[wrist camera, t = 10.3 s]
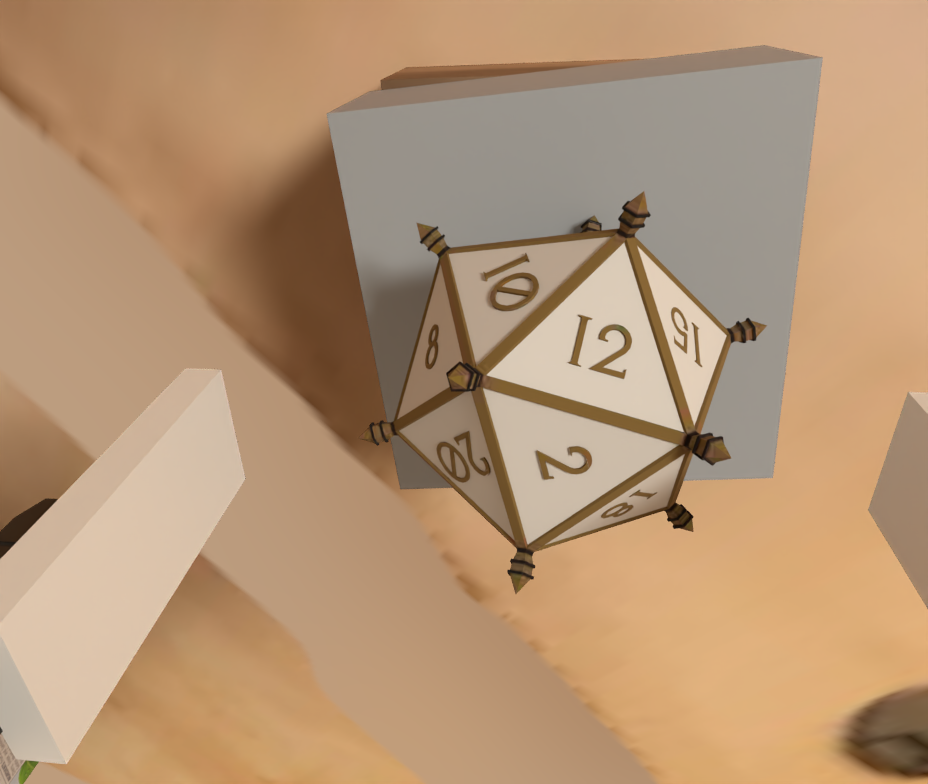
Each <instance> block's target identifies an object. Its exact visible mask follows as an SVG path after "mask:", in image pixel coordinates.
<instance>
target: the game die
mask: <svg viewBox="0 0 928 784" xmlns="http://www.w3.org/2000/svg"><path fill="white" fill-rule="evenodd" d="M622 209H623V210H624V211H623V213H622V214H621V215H620V216H619V218H618V220H619V221H620V227H619V229H610V230H602V223H599V221H598V220H597V218H596V217H595V215H594V216H593V217H592V218H591V219H590V220H589V219H588V220H587V221H586V222H585V223H584V224H582V225H581V228H582V232H580V233H575V234H566V235H557V236H548V237H540V238H531V239H522V240H513V241H504V242H496V243H487V244H478V245H469V246H460V247H452V248H450V247H449V246H447V244H446V242H445V240H444V237H445V235H444V234H443V235H441V234H440V232H439V231H438V230H437V229H438V226H437V227H431V226H427V225H424V224H420V223H417V227H418V231H419V235H420V239H421V241H420V243H421V244H424V245H425V246H426V247H427V248H428V249H427V250H428V251H432V252H434V253H435V254H437V256H438V258H439V260H438V263H437V267H436V271H435V274H434V278H433V281H432V285H431V289H430V292H429V296H428V299H427V303H426V306H425V310H424V314H423V317H422V321H421V324H420V328H419V332H418V335H417V339H416V342H415V346H414V350H413V353H412V357H411V360H410V364H409V367H408V371H407V375H406V378H405V382H404V385H403V389H402V393H401V396H400V400H399V403H398V407H397V411H396V414H395V418H394V421H393V422H384V421H383V420H382V421H380V423H377V424H374V422H373V423H371V424H370V427H369V428H368V429H367V430H366V431H365V432H364V433H363V434H362V435H361V436H360V437H359V438H360V439H363V440H367V441H370V442H373V443H375V444H376V445H379V443H380V442H383V441H385V442H388V439H390V438H391V437H393V436H399V437H400V438H401V439H402V440H403V441H404V442H405V443H406V444H407V445H408V446H410V447H411V448H412V449H413V450H414V451H415V452H416V453H417V454H418V455H419V456H420V457H421V458H422V459H423V460H424V461H425V462H426V463H427V464H428V465H430V466H431V467H432V468H433V469H434V470H435V471H436V472H437V473H438V474H439V475H440V476H441V477H442V478H443V479H444V480H445V481H446V482H447V483H448V484H449V485H451V486H452V487H453V488H454V489H455V490H456V491H457V492H458V493H459V494H460V495H461V496H462V497H463V498H464V499H465V500H466V501H467V502H468V503H469V504H471V505H472V506H473V507H474V508H475V509H476V510H477V511H478V512H479V513H480V514H481V515H482V516H483V517H484V518H485V519H486V520H487V521H488V522H489V523H491V524H492V525H493V526H494V527H495V528H496V529H497V530H498V531H499V532H500V533H501V534H502V535H503V536H504V537H505V538H506V539H507V540H508V541H509V542H510V543H512V544H513V545H514V546H515V547H516V548H517V553H516V555H515V557H514V559H511V561H510V562H511V564H512V565H511V569H510V570H508V574H509V575H510V576H511V579H512V583H513V586H514V590H515V593H517V592H518V591H519V590H520V589H521V588H522V587H523V586H524V585H525V584H526V583H527V582H528V581H529V580H530V579H534V577H533V576H531V575H532V569H533V568H535V565H533V561H532V555H533V553H534V552H535V551H539V550H542V549H545V548H548V547H551V546H554V545H557V544H560V543H564V542H567V541H570V540H573V539H576V538H579V537H582V536H586V535H589V534H592V533H595V532H598V531H601V530H604V529H608V528H611V527H614V526H617V525H620V524H623V523H626V522H630V521H633V520H636V519H639V518H642V517H645V516H648V515H652V514H655V513H658V512H661V511H665V512H666V513H667V516H668V519H667V520H668V522H669V521H671V522H672V523H673V528H674V529H676V528H681V529H684V530H688V531H692V532H693V523H692V518H693V516H692V515H691V514H690V512H689V511H687V510H686V509H685V508H684V506H683V505H682V504H681V505H678V504H677V503H676V499H677V496H678V494H679V491H680V488H681V486H682V483H683V480H684V478H685V475H686V472H687V470H688V467H689V464H690V461H691V459H692V456H693V454H694V455H695V456H697V457H698V458H699V459H701V460H705V461H706V462H708V463H709V464H710V465H712V466H713V465H714V464H715V463H716V462H720V461H724V460H727V459H731V456H730V454H729V452H728V450H727V449H726V447H725V445H724V440H723V437H722V436H719V437H714V436H713V433H706V434H701V431H702V428H703V425H704V422H705V419H706V416H707V413H708V410H709V407H710V404H711V401H712V398H713V395H714V392H715V389H716V387H717V384H718V381H719V378H720V375H721V372H722V369H723V366H724V363H725V360H726V357H727V354H728V351H729V348H730V345H731V343H733V342H740V343H746V341H748V340H751V341H756V338H757V336H758V335H759V334H760V333H761V332H762V331H763V330H764V329H765V328H766V326H767V325H764V324H761V323H758V322H754V321H751V320H750V319H749V318H746V321H744V322H741V323H740V322H739V321H737V322H736V325H734V326H733V327H731V328H725V327H724V326H723V325H722V324H721V323H720V322H719V321H718V320H717V319H716V317H715V316H714V315H713V314H712V313H711V312H710V311H709V310H708V309H707V308H706V307H705V306H704V305H703V304H702V303H701V302H700V301H699V300H698V299H697V298H696V297H695V296H694V295H693V294H692V293H691V292H690V291H689V290H688V289H687V288H686V287H685V286H684V285H683V284H682V283H681V282H680V281H679V280H678V279H677V278H676V277H675V276H674V275H673V274H672V273H671V272H670V271H669V270H668V269H667V268H666V267H665V266H664V265H663V264H662V263H661V262H660V261H659V260H658V259H657V258H656V257H655V256H654V255H653V254H652V253H651V252H650V251H649V250H648V249H647V248H646V247H645V246H644V245H643V244H642V243H641V242H640V241H639V240H638V239H637V238H636V237H635V233H636V232H637V231H638V230H639V229H640V228H644V227H645V224H644V221H645V219H646V217H650V216H651V214H650V213H649V212H648V210H647V204H646V197H645V191H643V192H642V193H641V194H639V195H638V196H637V197H635V198H634V199H633V200H631V201H627V202H626V203H625V204H624V205H623V207H622Z"/></svg>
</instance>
